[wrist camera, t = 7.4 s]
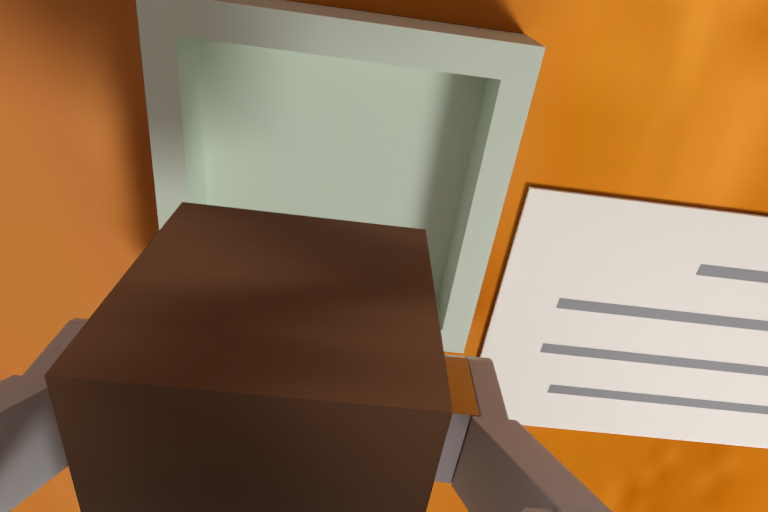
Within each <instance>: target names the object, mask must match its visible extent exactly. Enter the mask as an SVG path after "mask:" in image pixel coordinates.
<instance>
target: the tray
mask: <svg viewBox="0 0 768 512" xmlns="http://www.w3.org/2000/svg"><path fill="white" fill-rule="evenodd" d="M136 7H137V17H138V27H139V37H140V47H141V56H142V66H143V76H144V86H145V96H146V106H147V115H148V125H149V135H150V145H151V155H152V165H153V175H154V184H155V194H156V204H157V214H158V224H159V230H160V229H161V228H162V227H163V225H164V224H165V223H166V222H167V220H168V219H169V218H170V217H171V215H172V214H173V213H174V212H175V210H176V209H177V208H178V207H179V205H180V204H181V203H182V202H187V203H196V204H205V205H214V206H223V207H232V208H240V209H249V210H258V211H267V212H276V213H285V214H293V215H302V216H311V217H320V218H329V219H337V220H346V221H355V222H364V223H373V224H382V225H390V226H399V227H408V228H417V229H426V236H427V242H428V249H429V256H430V263H431V269H432V276H433V283H434V289H435V296H436V303H437V309H438V316H439V323H440V330H441V336H442V343H443V350H444V351H446V352H456V353H464V349H465V345H466V342H467V338H468V334H469V331H470V327H471V323H472V319H473V316H474V312H475V308H476V305H477V301H478V297H479V293H480V290H481V286H482V282H483V279H484V275H485V271H486V267H487V264H488V260H489V256H490V252H491V249H492V245H493V241H494V238H495V234H496V230H497V226H498V223H499V219H500V215H501V212H502V208H503V204H504V200H505V197H506V193H507V189H508V186H509V182H510V178H511V174H512V171H513V167H514V163H515V159H516V156H517V152H518V148H519V145H520V141H521V137H522V133H523V130H524V126H525V122H526V119H527V115H528V111H529V107H530V104H531V100H532V96H533V93H534V89H535V85H536V81H537V78H538V74H539V70H540V66H541V63H542V59H543V55H544V52H545V48H546V47H545V46H543V45H541V44H540V43H538V42H537V41H535V40H533V39H532V38H530V37H529V36H527V35H525V34H520V33H513V32H506V31H499V30H492V29H485V28H478V27H471V26H464V25H457V24H450V23H443V22H435V21H428V20H421V19H414V18H407V17H400V16H393V15H386V14H379V13H372V12H365V11H358V10H351V9H344V8H337V7H330V6H323V5H316V4H308V3H301V2H294V1H287V0H136Z"/></svg>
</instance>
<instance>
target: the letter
mask: <svg viewBox="0 0 768 512" xmlns="http://www.w3.org/2000/svg"><path fill="white" fill-rule="evenodd" d="M480 357H483V358H490V359H491V360H492V361H493V363H494V367H495V370H496V374H497V378H498V381H499V385H500V389H501V392H502V396H503V400H504V403H505V407H506V411H507V414H508V418H509V420H517V421H518V422H519V423H520V424H521V425H528V426H538V427H549V428H559V429H570V430H580V431H591V432H601V433H612V434H622V435H633V436H643V437H653V438H664V439H674V440H685V441H695V442H706V443H716V444H727V445H737V446H748V447H758V448H768V216H763V215H755V214H747V213H739V212H731V211H723V210H715V209H707V208H699V207H691V206H683V205H675V204H667V203H658V202H650V201H642V200H634V199H626V198H618V197H610V196H602V195H594V194H586V193H578V192H570V191H562V190H554V189H545V188H537V187H529V188H528V191H527V195H526V198H525V202H524V205H523V208H522V212H521V215H520V219H519V222H518V226H517V229H516V233H515V236H514V239H513V243H512V246H511V250H510V253H509V257H508V260H507V264H506V267H505V270H504V274H503V277H502V281H501V284H500V288H499V291H498V295H497V298H496V301H495V305H494V308H493V312H492V315H491V319H490V322H489V326H488V329H487V332H486V336H485V339H484V343H483V346H482V350H481V353H480Z"/></svg>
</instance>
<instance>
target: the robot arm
mask: <svg viewBox="0 0 768 512" xmlns="http://www.w3.org/2000/svg"><path fill="white" fill-rule="evenodd" d="M88 320H89V319H82V318H75V319H73V320H70V321H69V322H68V323H67V324H66V325H65V326H64V327H63V329H62V330H61V331H60V332H59V333H58V334H57V336H56V337H55V338H54V339H53V340H52V341H51V343H50V344H49V345H48V346H47V347H46V348H45V350H44V351H43V352H42V353H41V354H40V355H39V357H38V358H37V359H36V360H35V361H34V362H33V364H32V365H31V366H30V367H29V368H28V370H27V371H26V372H25V373H24V374H23V375H22V376H19V375H13V376H11V377H8V378H6V379H4V380H2V381H0V512H9V511H11V510H12V509H13V508H15V507H16V506H17V505H18V504H20V503H21V502H22V501H24V500H25V499H26V498H27V497H29V496H30V495H31V494H33V493H34V492H35V491H36V490H38V489H39V488H40V487H42V486H43V485H44V484H45V483H47V482H48V481H49V480H51V479H52V478H53V477H54V476H56V475H57V474H58V473H60V472H61V471H62V470H63V469H65V468H66V467H67V466H69V465H68V462H67V458H66V454H65V451H64V447H63V443H62V440H61V436H60V432H59V428H58V425H57V421H56V417H55V414H54V410H53V406H52V403H51V399H50V395H49V392H48V388H47V384H46V380H45V377H44V375H45V373H46V372H47V371H48V370H49V368H50V367H51V366H52V365H53V363H54V362H55V361H56V360H57V358H58V357H59V356H60V355H61V353H62V352H63V351H64V350H65V348H66V347H67V346H68V345H69V343H70V342H71V341H72V340H73V338H74V337H75V336H76V335H77V333H78V332H79V331H80V330H81V328H82V327H83V326H84V325H85V323H86V322H87V321H88ZM444 356H445V363H446V370H447V376H448V383H449V390H450V397H451V403H452V410H453V414H452V417H451V421H450V425H449V428H448V432H447V436H446V439H445V443H444V447H443V450H442V454H441V458H440V461H439V465H438V469H437V472H436V476H435V480H434V481H437V482H446V483H452V487H453V488H454V490H455V491H456V493H457V494H458V496H459V497H460V499H461V500H462V501H463V503H464V504H465V506H466V507H467V509H468V510H469V512H612V511H611V510H610V509H609V508H608V507H607V506H606V505H605V504H603V503H602V502H601V501H600V500H599V499H598V498H597V497H596V496H595V495H594V494H593V493H592V492H591V491H590V490H589V489H588V488H587V487H586V486H585V485H584V484H583V483H581V482H580V481H579V480H578V479H577V478H576V477H575V476H574V475H573V474H572V473H571V472H570V471H569V470H568V469H567V468H566V467H565V466H564V465H563V464H562V463H561V462H559V461H558V460H557V459H556V458H555V457H554V456H553V455H552V454H551V453H550V452H549V451H548V450H547V449H546V448H545V447H544V446H543V445H542V444H541V443H540V442H539V441H538V440H536V439H535V438H534V437H533V436H532V435H531V434H530V433H529V432H528V431H527V430H526V429H525V428H524V427H523V426H522V425H521V424H520V423H519V422H518V421H517V420H509V418H508V414H507V411H506V407H505V403H504V400H503V396H502V392H501V389H500V385H499V381H498V378H497V374H496V370H495V367H494V363H493V361H492V360H491V359H490V358H483V357H469V356H466V357H463V356H452V355H444Z"/></svg>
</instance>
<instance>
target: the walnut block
mask: <svg viewBox="0 0 768 512" xmlns="http://www.w3.org/2000/svg"><path fill="white" fill-rule="evenodd" d="M44 377H45V380H46V384H47V388H48V392H49V395H50V399H51V403H52V406H53V410H54V414H55V417H56V421H57V425H58V428H59V432H60V436H61V440H62V443H63V447H64V451H65V454H66V458H67V462H68V465H69V469H70V473H71V477H72V480H73V484H74V488H75V491H76V495H77V499H78V502H79V506H80V510H81V512H426V509H427V505H428V502H429V498H430V494H431V491H432V487H433V483H434V480H435V476H436V472H437V469H438V465H439V461H440V458H441V454H442V450H443V447H444V443H445V439H446V436H447V432H448V428H449V425H450V421H451V417H452V414H453V410H452V403H451V397H450V390H449V383H448V376H447V370H446V363H445V356H444V350H443V343H442V336H441V330H440V323H439V316H438V309H437V303H436V296H435V289H434V283H433V276H432V269H431V263H430V256H429V249H428V242H427V236H426V229H417V228H408V227H399V226H390V225H382V224H373V223H364V222H355V221H346V220H337V219H329V218H320V217H311V216H302V215H293V214H285V213H276V212H267V211H258V210H249V209H240V208H232V207H223V206H214V205H205V204H196V203H187V202H182V203H181V204H180V205H179V207H178V208H177V209H176V210H175V212H174V213H173V214H172V215H171V217H170V218H169V219H168V220H167V222H166V223H165V224H164V225H163V227H162V228H161V229H160V230H159V232H158V233H157V234H156V235H155V237H154V238H153V239H152V240H151V242H150V243H149V244H148V245H147V247H146V248H145V249H144V251H143V252H142V253H141V254H140V256H139V257H138V258H137V259H136V261H135V262H134V263H133V264H132V266H131V267H130V268H129V269H128V271H127V272H126V273H125V274H124V276H123V277H122V278H121V279H120V281H119V282H118V283H117V284H116V286H115V287H114V288H113V289H112V291H111V292H110V293H109V294H108V296H107V297H106V298H105V299H104V301H103V302H102V303H101V304H100V306H99V307H98V308H97V309H96V311H95V312H94V313H93V315H92V316H91V317H90V318H89V320H88V321H87V322H86V323H85V325H84V326H83V327H82V328H81V330H80V331H79V332H78V333H77V335H76V336H75V337H74V338H73V340H72V341H71V342H70V343H69V345H68V346H67V347H66V348H65V350H64V351H63V352H62V353H61V355H60V356H59V357H58V358H57V360H56V361H55V362H54V363H53V365H52V366H51V367H50V368H49V370H48V371H47V372H46V373H45V375H44Z"/></svg>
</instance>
